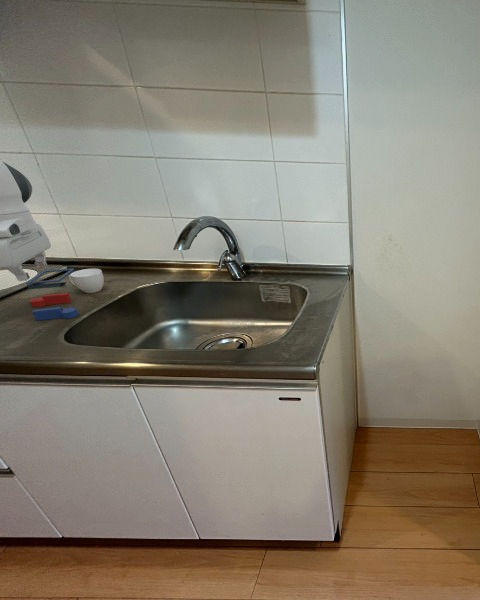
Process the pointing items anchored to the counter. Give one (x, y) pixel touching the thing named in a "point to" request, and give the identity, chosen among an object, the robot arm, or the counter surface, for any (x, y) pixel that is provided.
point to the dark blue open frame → (48, 280)
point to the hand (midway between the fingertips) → (34, 273)
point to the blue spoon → (55, 313)
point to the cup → (88, 280)
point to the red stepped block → (51, 299)
